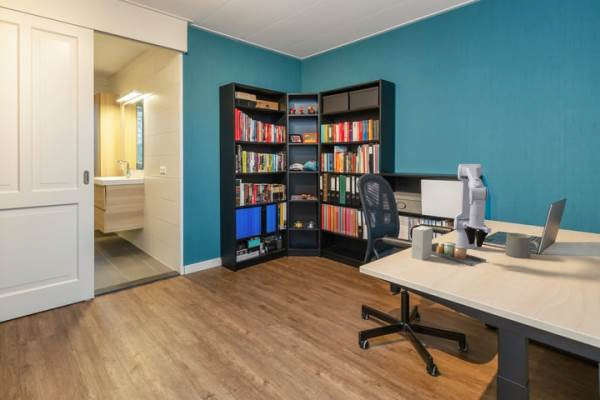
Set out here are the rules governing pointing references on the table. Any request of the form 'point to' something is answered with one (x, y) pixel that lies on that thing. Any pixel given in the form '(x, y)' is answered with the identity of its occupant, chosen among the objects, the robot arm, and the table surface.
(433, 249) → the grey rectangular tray
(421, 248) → the skincare box
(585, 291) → the table surface
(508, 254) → the coffee mug
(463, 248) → the jar
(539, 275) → the table surface
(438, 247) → the pusher
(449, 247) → the jar
